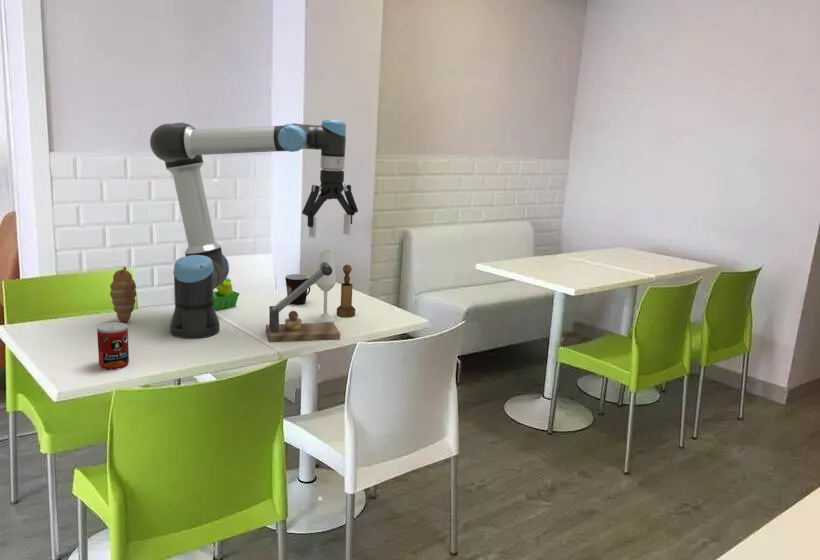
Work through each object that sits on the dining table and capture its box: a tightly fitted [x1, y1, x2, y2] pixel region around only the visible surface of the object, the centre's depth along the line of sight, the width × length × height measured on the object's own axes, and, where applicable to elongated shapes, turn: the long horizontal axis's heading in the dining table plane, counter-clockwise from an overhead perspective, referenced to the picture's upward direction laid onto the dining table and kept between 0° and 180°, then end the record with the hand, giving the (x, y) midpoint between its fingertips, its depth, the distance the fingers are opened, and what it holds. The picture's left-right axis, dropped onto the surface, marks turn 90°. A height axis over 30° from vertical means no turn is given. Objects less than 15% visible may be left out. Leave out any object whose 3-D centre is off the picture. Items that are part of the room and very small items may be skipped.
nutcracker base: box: [265, 305, 341, 343], centre depth 231 cm, size 22×12×9 cm, turn 106°
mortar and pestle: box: [336, 264, 356, 318], centre depth 255 cm, size 7×6×18 cm
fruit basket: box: [213, 277, 240, 311], centre depth 257 cm, size 11×9×11 cm
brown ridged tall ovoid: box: [109, 266, 137, 323], centre depth 235 cm, size 9×8×18 cm
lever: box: [270, 262, 332, 313], centre depth 229 cm, size 24×6×3 cm
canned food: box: [96, 321, 130, 370], centre depth 198 cm, size 8×8×11 cm
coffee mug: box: [284, 273, 311, 306], centre depth 267 cm, size 12×9×10 cm
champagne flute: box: [315, 248, 337, 323], centre depth 248 cm, size 7×7×24 cm
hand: (329, 235), depth 236 cm, fingers open, 13 cm apart
